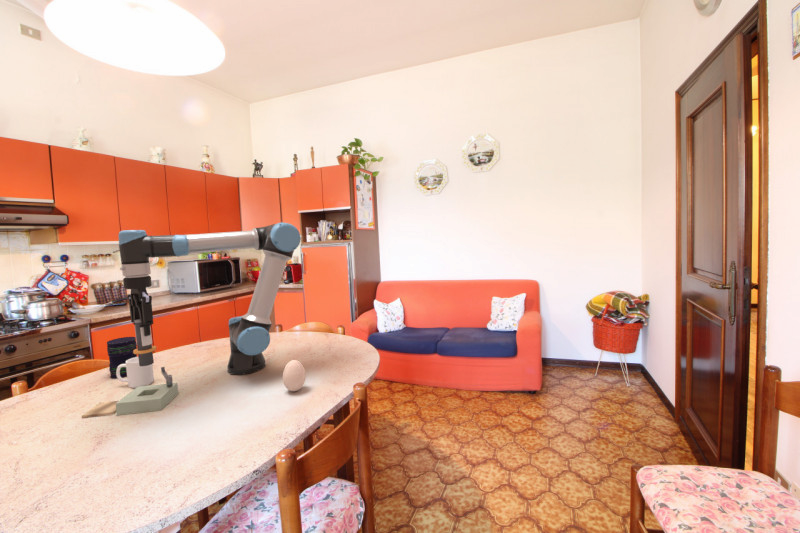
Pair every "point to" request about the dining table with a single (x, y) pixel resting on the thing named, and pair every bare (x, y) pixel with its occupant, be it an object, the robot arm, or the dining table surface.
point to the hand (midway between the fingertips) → (144, 343)
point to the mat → (101, 409)
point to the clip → (167, 377)
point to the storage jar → (120, 354)
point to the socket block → (146, 399)
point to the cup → (136, 373)
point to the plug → (143, 348)
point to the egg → (294, 375)
